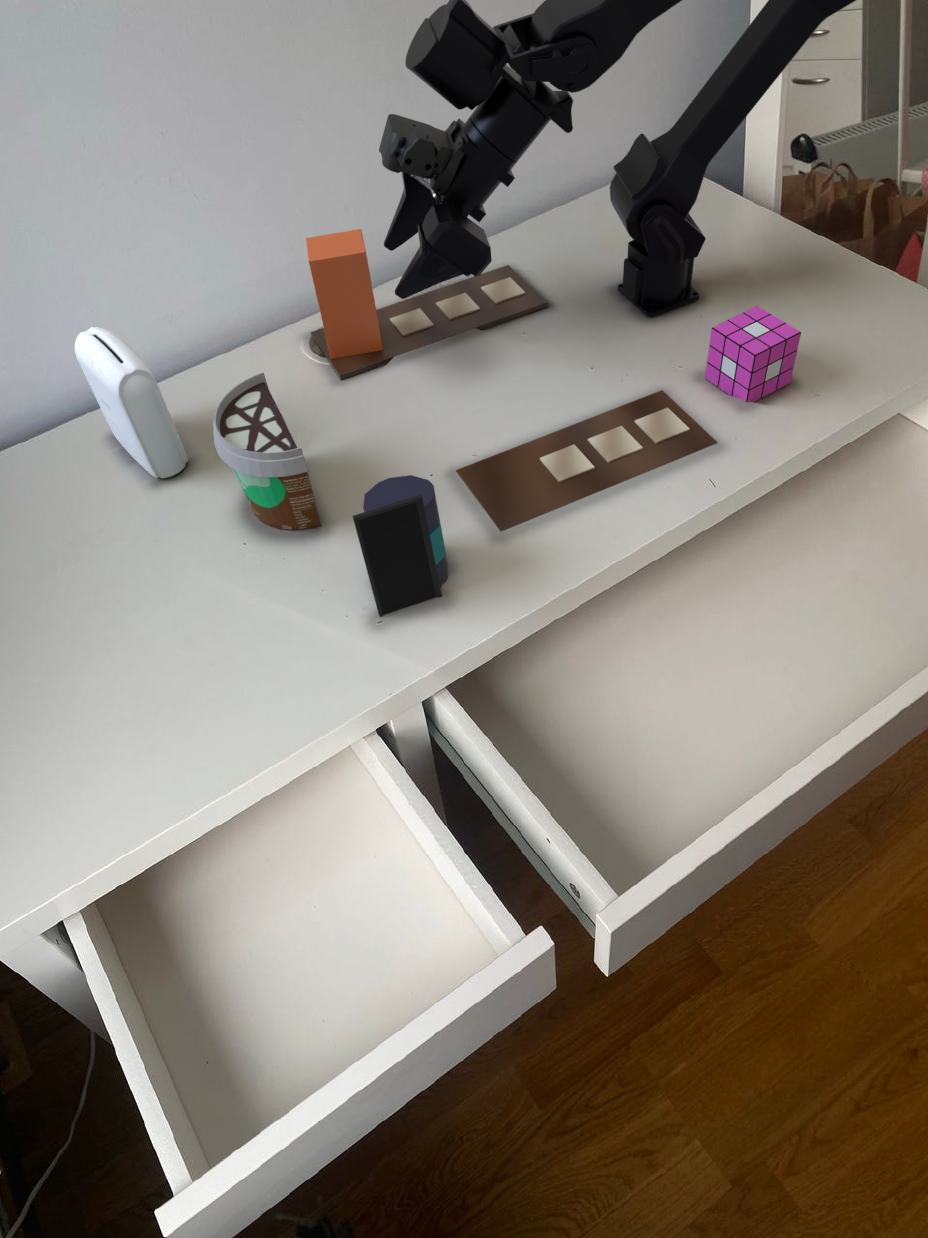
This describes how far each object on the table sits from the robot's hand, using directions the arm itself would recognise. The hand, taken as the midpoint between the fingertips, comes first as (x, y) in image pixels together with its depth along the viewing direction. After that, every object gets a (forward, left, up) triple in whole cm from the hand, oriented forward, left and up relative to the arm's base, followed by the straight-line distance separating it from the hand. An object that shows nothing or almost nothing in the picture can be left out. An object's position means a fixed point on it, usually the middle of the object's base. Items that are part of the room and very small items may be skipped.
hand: (392, 270), depth 94 cm
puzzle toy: (-26, +25, -8) cm, 36 cm away
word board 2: (-7, +27, -8) cm, 28 cm away
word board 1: (-4, -1, -8) cm, 9 cm away
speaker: (+13, +32, -8) cm, 35 cm away
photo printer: (+28, +4, -8) cm, 30 cm away
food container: (+20, +18, -8) cm, 28 cm away
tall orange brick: (+5, -1, -7) cm, 9 cm away
